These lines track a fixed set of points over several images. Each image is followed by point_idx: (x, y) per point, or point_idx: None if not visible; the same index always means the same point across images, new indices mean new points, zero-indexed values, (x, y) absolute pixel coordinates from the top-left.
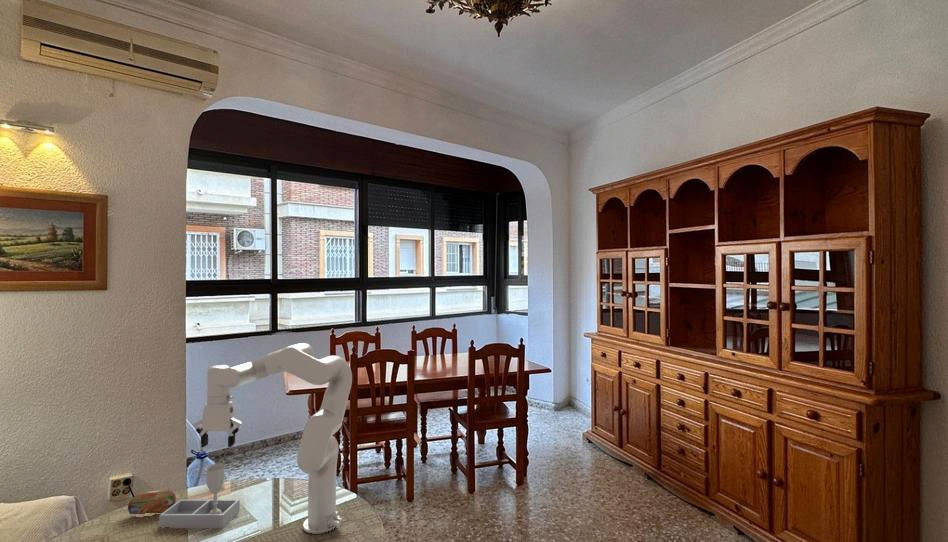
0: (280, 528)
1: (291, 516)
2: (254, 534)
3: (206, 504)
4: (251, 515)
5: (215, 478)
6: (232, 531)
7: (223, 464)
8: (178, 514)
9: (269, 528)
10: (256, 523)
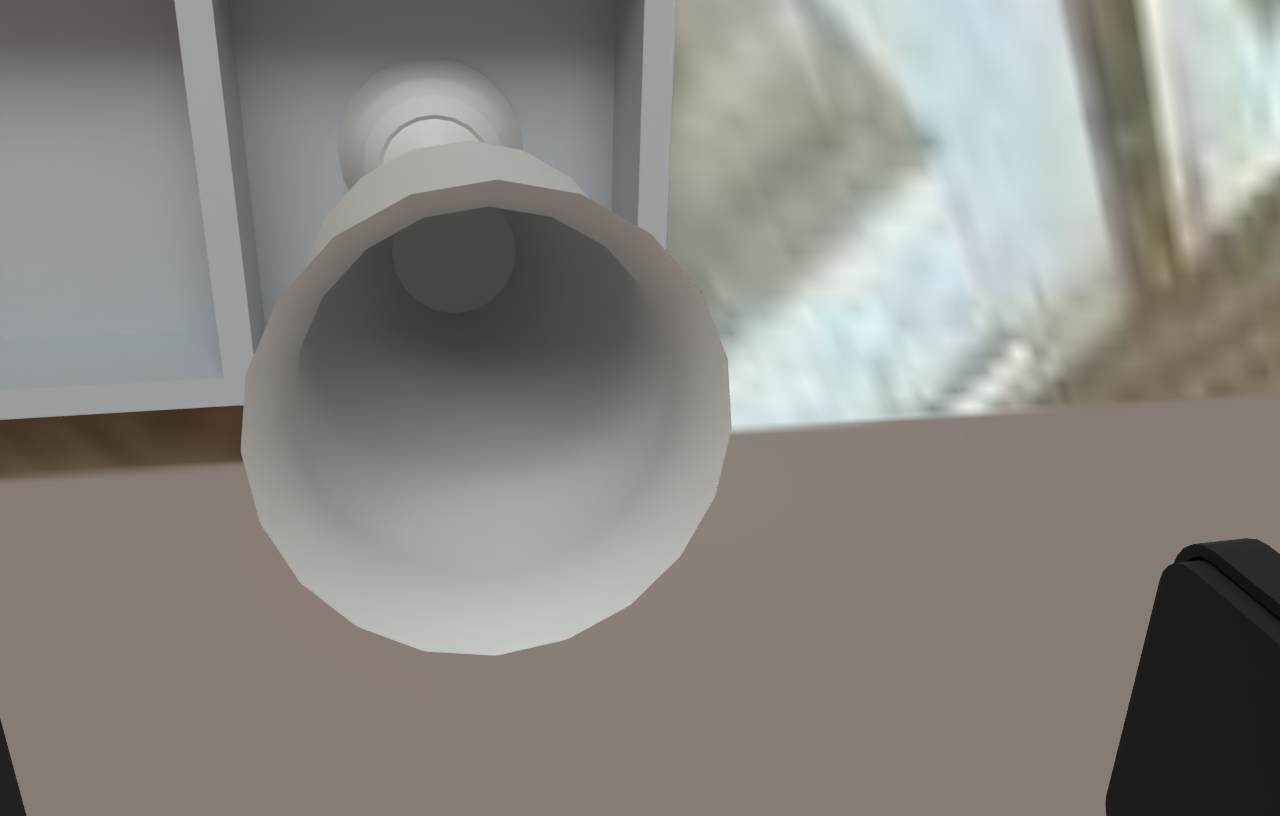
0: (1194, 301)
1: (1269, 59)
2: (987, 412)
3: (220, 62)
4: (830, 33)
5: (567, 494)
6: (759, 377)
7: (577, 207)
8: (39, 398)
9: (1096, 306)
10: (945, 216)
